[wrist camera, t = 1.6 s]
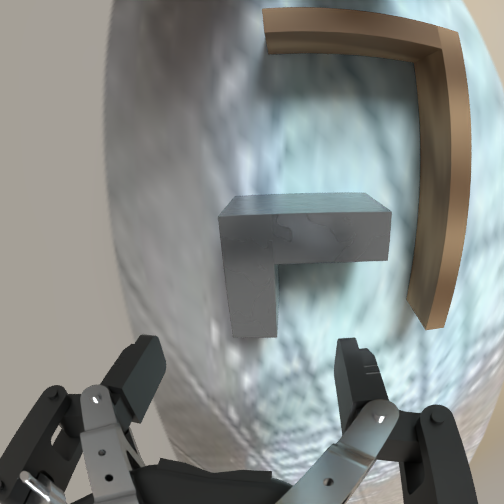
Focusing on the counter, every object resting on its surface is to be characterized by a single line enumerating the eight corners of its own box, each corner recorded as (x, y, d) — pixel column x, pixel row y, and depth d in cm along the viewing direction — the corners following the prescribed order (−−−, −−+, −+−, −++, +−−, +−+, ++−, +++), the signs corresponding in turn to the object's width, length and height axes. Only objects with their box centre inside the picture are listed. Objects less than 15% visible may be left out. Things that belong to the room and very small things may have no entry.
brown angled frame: (266, 34, 14) (261, 8, 10) (429, 47, 13) (458, 32, 9) (283, 305, 21) (282, 340, 17) (422, 297, 19) (443, 327, 16)
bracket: (234, 196, 18) (218, 216, 14) (364, 192, 17) (391, 211, 13) (244, 293, 21) (232, 337, 16) (358, 290, 20) (376, 332, 15)
